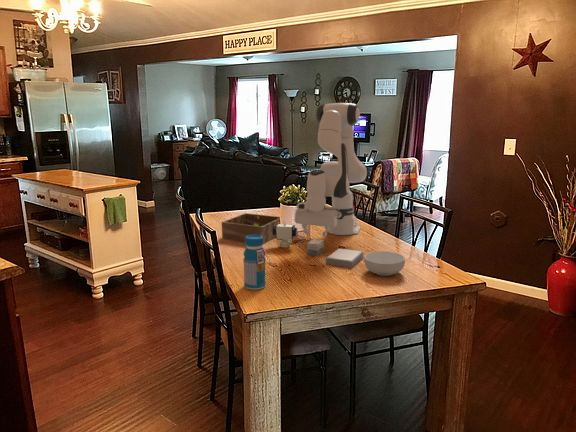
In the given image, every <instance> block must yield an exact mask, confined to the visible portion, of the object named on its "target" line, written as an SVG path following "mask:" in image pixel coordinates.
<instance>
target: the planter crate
mask: <svg viewBox="0 0 576 432" xmlns="http://www.w3.org/2000/svg"><path fill="white" fill-rule="evenodd" d="M255 216H258V217H259V219H256V218H255V219H254V223H255V224H257V225H258V224H259V226H252V225H249V223H248V222H247V221H245V222H244V224H242V222H243V221H244V220H248V221H250V222H251V223H252V220H253V218H254V217H255ZM280 217H281V216H276V215H275V216H274V215H266V214H257V213H247V212H244V213H241V214H239V215H237V216H234V217H232V218H229V219H227V220H224V221H222V222H221V237H222V240H228V241H235V242H242V243H245V237H246V236H248V235H261V236H262V237H263V245H264V244H266V243H267V242H270V241H271V240H273V239H276V238H275V235H273V227H275V226H276V225H277V224H278V222H280ZM260 226H261V227H260Z"/></svg>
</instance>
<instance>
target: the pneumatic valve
mask: <svg viewBox="0 0 576 432" xmlns="http://www.w3.org/2000/svg"><path fill="white" fill-rule="evenodd" d="M273 235H275V238H274V239H277V240H279V239H280V241H279V242H278V243H279V246H280V247H281V248H283V249H284V248H286V249H287V248H289V247H290V246H291V244H292V243H291V240H294V239H295V237H297V236H298V228H297V227H296V226H295V224H287V223H286V222H283V224H277V225H276V226H275V227H273Z"/></svg>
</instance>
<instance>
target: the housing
mask: <svg viewBox="0 0 576 432" xmlns="http://www.w3.org/2000/svg"><path fill="white" fill-rule="evenodd" d="M324 242H325V240H323V239H318V238H313V239H312V240H310V241H308V242H307V245H306V246H307V256H310V257H319V256H320V255H322V254H323V253H324V252H325V251H324V250H325V248H324V247H325V246H324V245H325V243H324Z"/></svg>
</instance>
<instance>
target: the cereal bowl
mask: <svg viewBox="0 0 576 432" xmlns="http://www.w3.org/2000/svg"><path fill="white" fill-rule="evenodd" d="M363 258H364V259H363V260H364V266H365V267H366V269H368V271H369V272H372V273H374V274H376V275H378V276H380V277H390V275H391V276H393V275H394V274H397V273H399V272H401V271H402V270H403V269H404V268H405V264H406V263H405V262H406V258H405V256H404V255H403V254H401V253H397V252H395V251H394V252H392V251H387V250H385V251H384V250H383V251H382V250H380V251H371V252H368V253H366V254H365V255H364V256H363Z"/></svg>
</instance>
